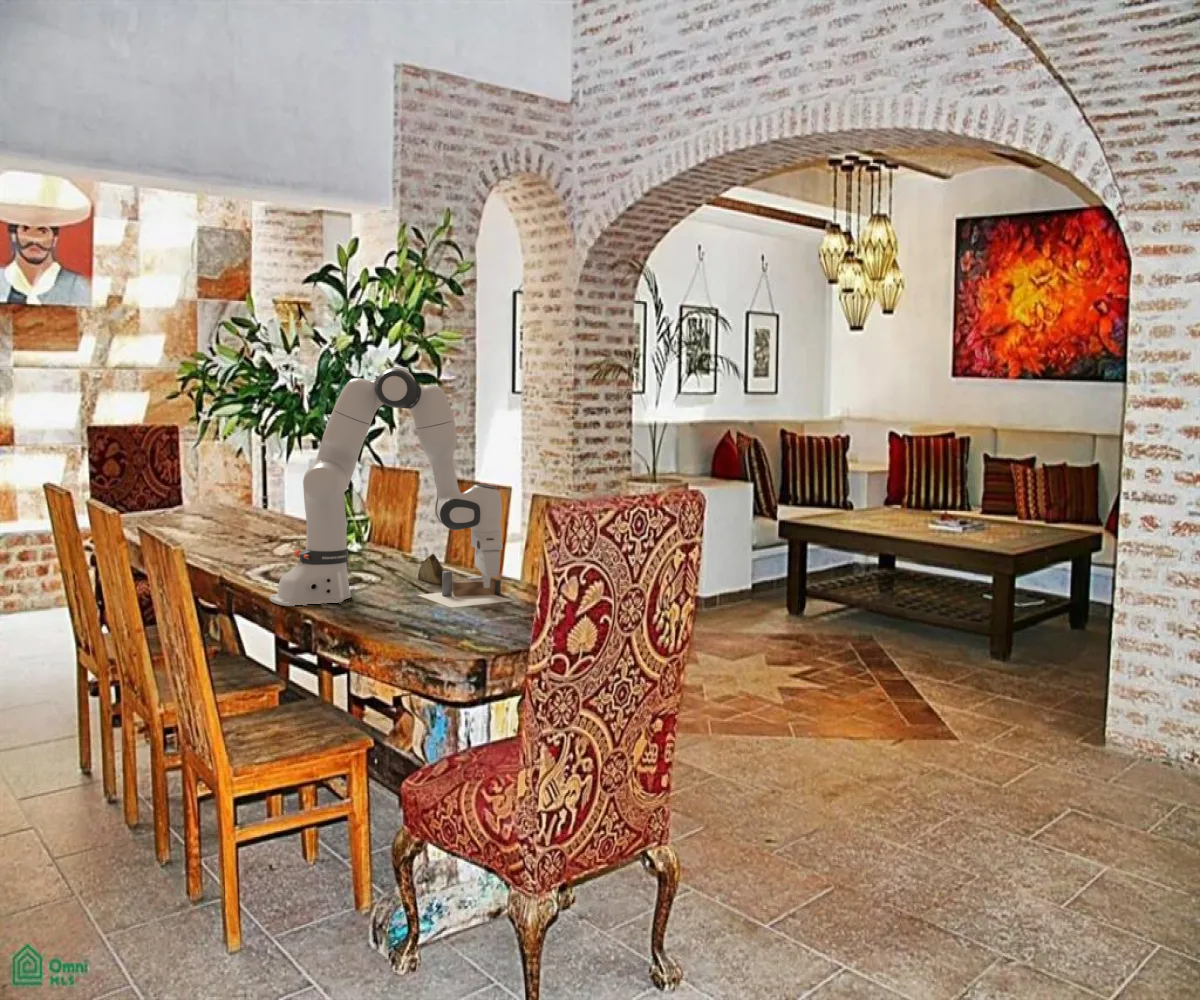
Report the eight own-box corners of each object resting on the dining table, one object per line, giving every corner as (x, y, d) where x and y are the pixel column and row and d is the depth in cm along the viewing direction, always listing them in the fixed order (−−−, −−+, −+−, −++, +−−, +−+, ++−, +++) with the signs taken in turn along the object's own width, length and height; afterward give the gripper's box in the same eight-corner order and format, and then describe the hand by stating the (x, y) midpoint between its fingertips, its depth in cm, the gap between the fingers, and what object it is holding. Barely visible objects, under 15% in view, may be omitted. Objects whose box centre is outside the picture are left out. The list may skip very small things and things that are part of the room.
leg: (455, 596, 323) (455, 582, 323) (452, 594, 326) (452, 580, 325) (501, 594, 328) (502, 581, 328) (498, 592, 331) (498, 579, 331)
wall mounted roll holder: (451, 610, 308) (451, 582, 307) (416, 597, 324) (417, 571, 323) (512, 603, 320) (513, 576, 319) (476, 591, 336) (477, 566, 335)
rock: (408, 573, 349) (415, 574, 340) (424, 551, 351) (431, 552, 342) (435, 593, 352) (443, 595, 343) (451, 571, 354) (459, 572, 345)
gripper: (469, 535, 333) (469, 581, 334) (481, 545, 313) (481, 594, 315) (490, 535, 335) (490, 580, 336) (503, 545, 315) (503, 593, 317)
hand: (486, 587), depth 325 cm, fingers closed
